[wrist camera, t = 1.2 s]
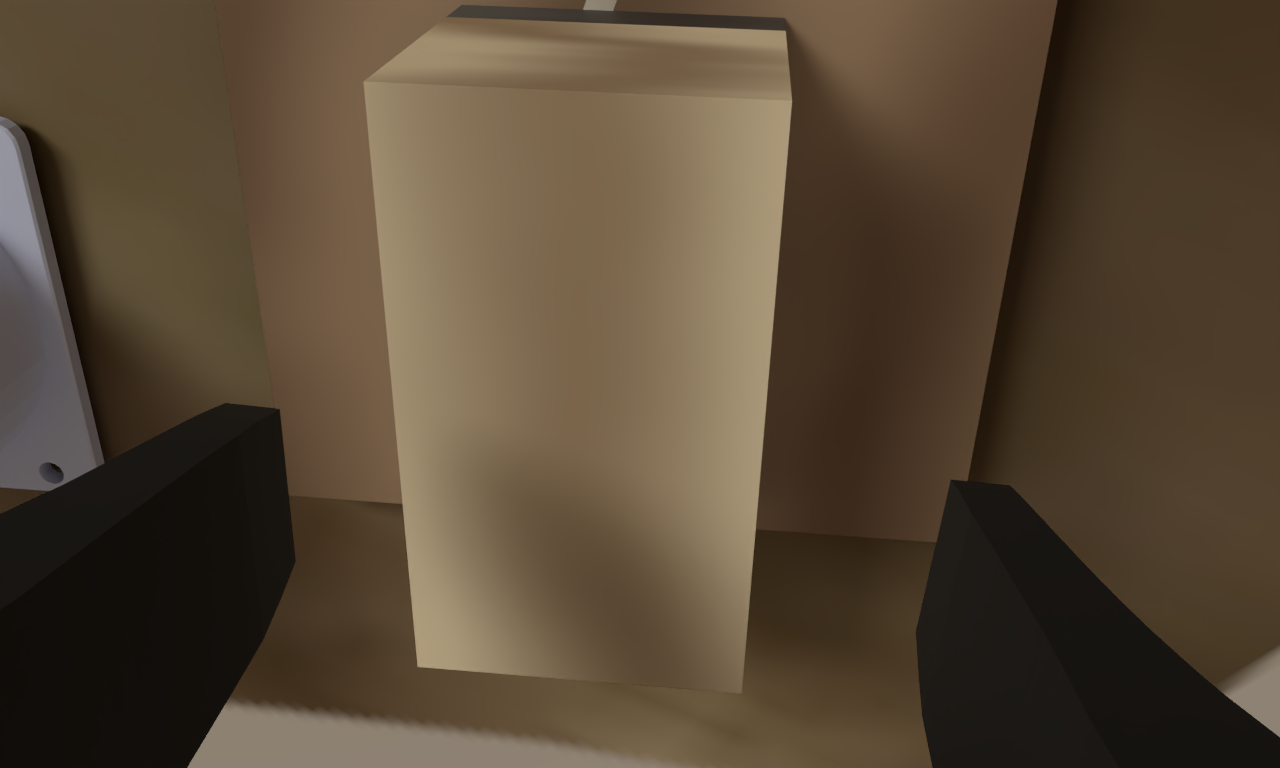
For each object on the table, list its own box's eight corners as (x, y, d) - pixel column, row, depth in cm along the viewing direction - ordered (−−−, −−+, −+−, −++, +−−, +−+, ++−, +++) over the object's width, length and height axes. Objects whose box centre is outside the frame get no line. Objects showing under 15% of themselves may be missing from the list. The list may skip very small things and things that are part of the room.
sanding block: (486, 488, 22) (418, 667, 18) (461, 4, 18) (362, 81, 13) (745, 507, 22) (741, 693, 17) (785, 17, 17) (792, 100, 13)
